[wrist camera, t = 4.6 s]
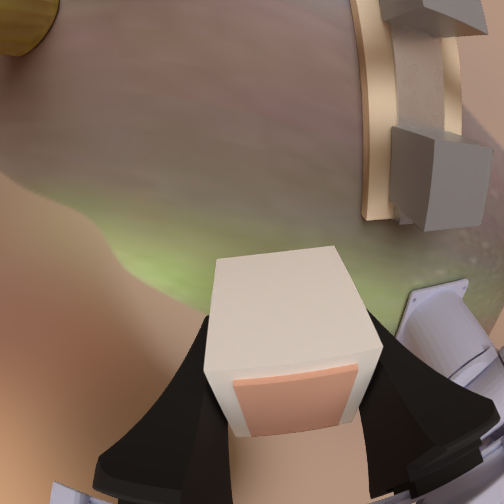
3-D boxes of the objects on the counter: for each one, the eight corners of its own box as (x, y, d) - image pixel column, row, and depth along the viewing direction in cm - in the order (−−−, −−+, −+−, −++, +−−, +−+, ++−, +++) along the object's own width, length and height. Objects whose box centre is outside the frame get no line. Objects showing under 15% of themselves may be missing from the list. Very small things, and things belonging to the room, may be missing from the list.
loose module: (326, 332, 13) (352, 426, 9) (236, 343, 13) (236, 441, 9) (333, 245, 10) (385, 352, 6) (216, 259, 10) (202, 377, 6)
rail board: (444, 208, 18) (487, 243, 13) (361, 214, 18) (397, 258, 14) (433, -25, 8) (478, -39, 3) (336, -52, 8) (367, -88, 3)
